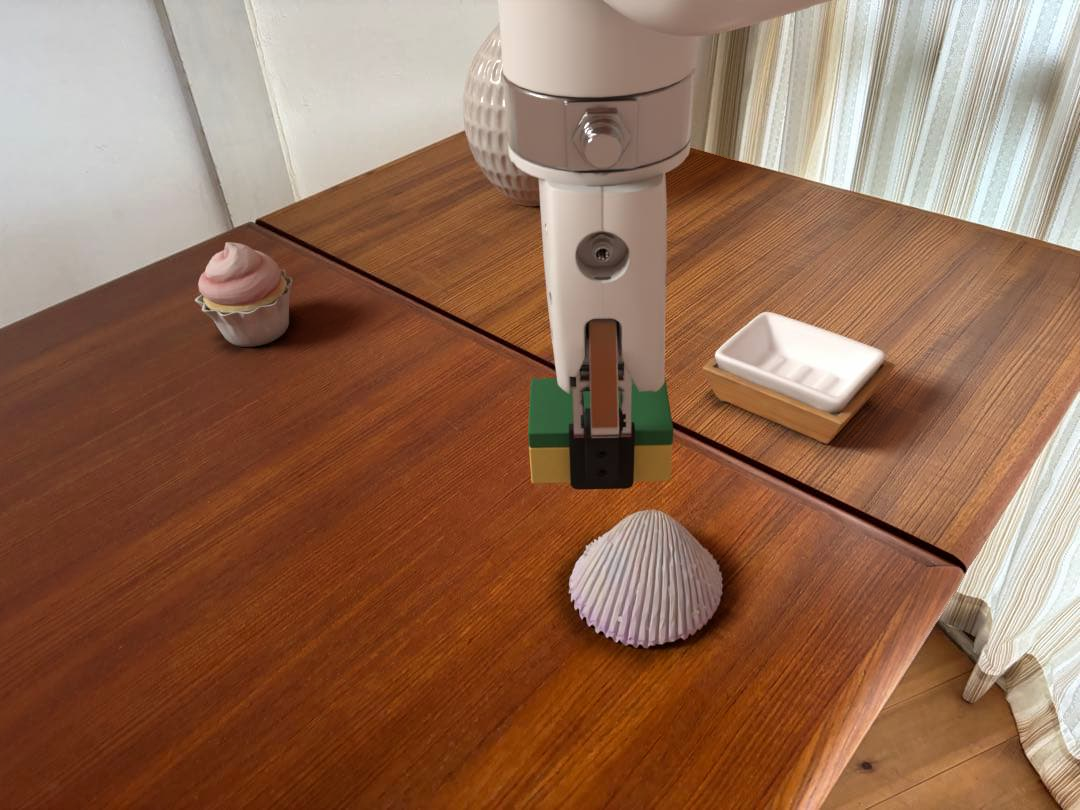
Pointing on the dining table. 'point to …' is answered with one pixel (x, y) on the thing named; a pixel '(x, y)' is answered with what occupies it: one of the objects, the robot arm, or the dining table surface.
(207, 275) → the cupcake
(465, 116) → the vase
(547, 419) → the scrub sponge
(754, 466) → the dining table surface
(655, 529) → the seashell
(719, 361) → the soap dish
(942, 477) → the dining table surface
